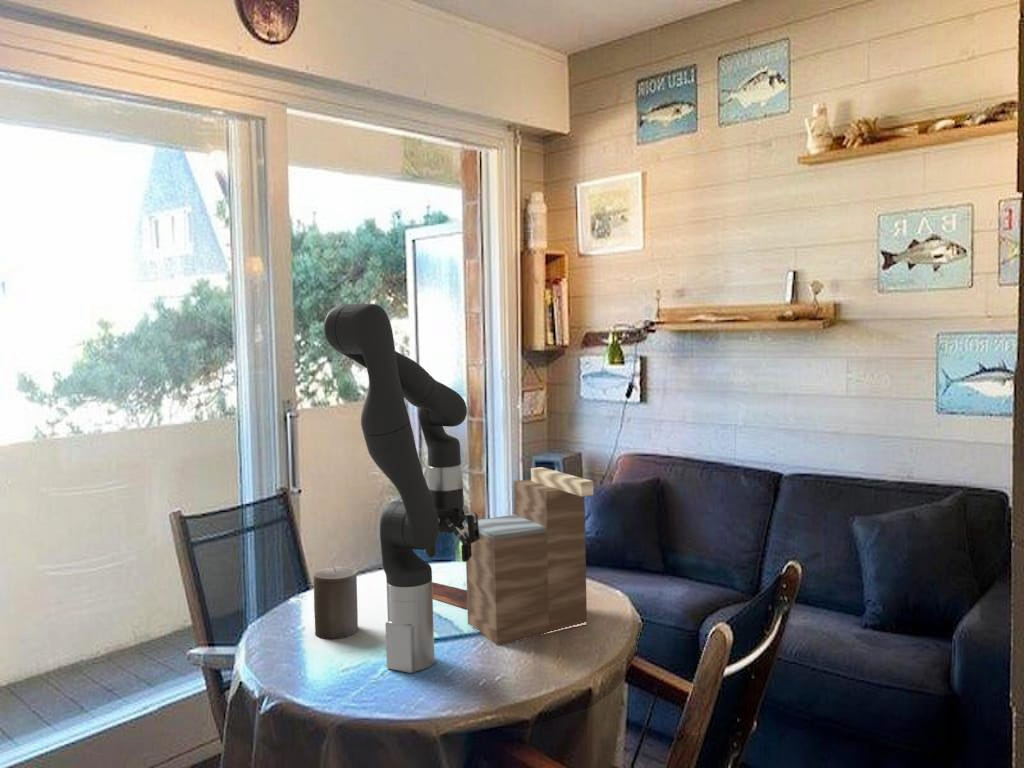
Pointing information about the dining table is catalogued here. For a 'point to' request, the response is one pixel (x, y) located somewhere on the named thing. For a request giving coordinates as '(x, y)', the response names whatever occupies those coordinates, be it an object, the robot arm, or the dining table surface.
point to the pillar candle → (335, 602)
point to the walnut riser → (529, 566)
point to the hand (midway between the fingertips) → (448, 558)
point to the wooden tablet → (450, 595)
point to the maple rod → (562, 481)
